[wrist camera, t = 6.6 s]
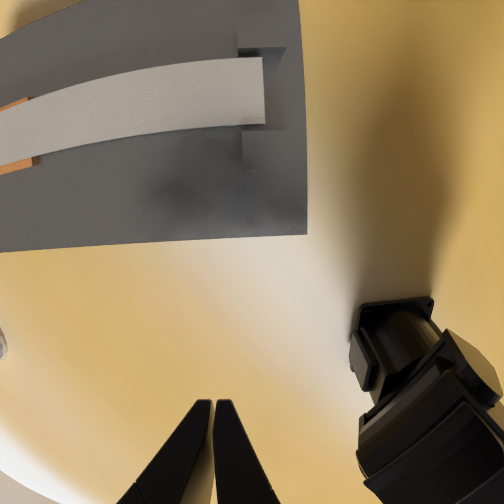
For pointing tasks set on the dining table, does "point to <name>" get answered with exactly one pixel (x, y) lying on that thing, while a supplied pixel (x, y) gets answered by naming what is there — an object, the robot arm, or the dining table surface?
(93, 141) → the steel strap
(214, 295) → the dining table surface
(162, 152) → the silver metal tray
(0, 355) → the canned food
